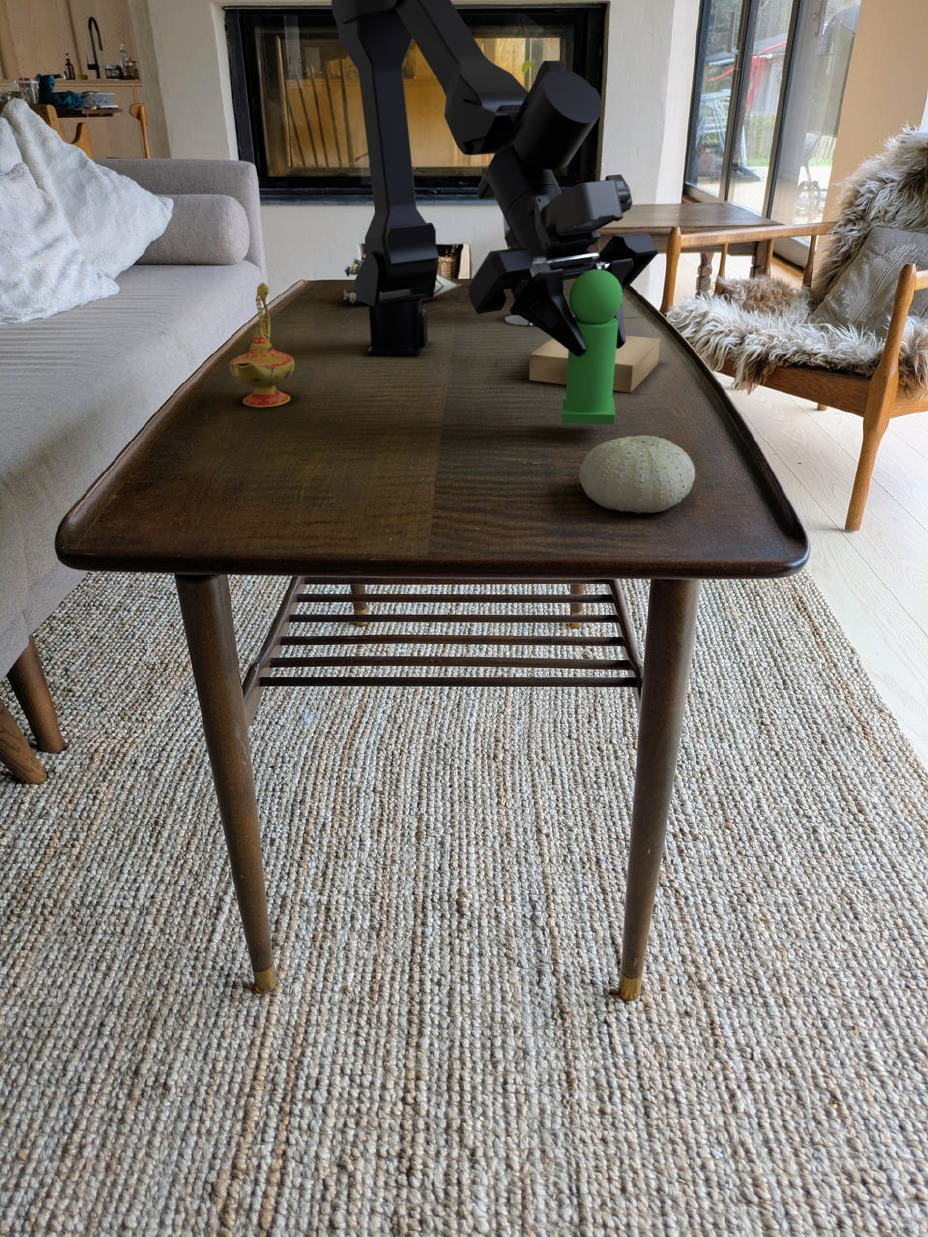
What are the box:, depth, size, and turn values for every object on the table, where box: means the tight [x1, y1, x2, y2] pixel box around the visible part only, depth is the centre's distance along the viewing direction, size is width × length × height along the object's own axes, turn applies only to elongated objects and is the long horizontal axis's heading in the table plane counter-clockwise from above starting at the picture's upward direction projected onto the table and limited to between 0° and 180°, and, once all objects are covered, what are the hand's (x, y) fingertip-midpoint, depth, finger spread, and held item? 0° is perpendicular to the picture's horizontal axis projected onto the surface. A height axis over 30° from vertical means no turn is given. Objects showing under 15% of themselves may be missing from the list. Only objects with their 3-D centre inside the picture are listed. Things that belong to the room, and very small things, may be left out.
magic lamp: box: [229, 282, 296, 408], centre depth 94 cm, size 7×18×11 cm, turn 2°
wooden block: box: [528, 335, 661, 393], centre depth 105 cm, size 12×12×3 cm
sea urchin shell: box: [578, 435, 696, 514], centre depth 74 cm, size 9×8×8 cm
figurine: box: [343, 258, 462, 304], centre depth 138 cm, size 20×6×17 cm
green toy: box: [561, 269, 623, 426], centre depth 84 cm, size 5×5×13 cm
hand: (602, 350), depth 83 cm, fingers closed on green toy, 4 cm apart
